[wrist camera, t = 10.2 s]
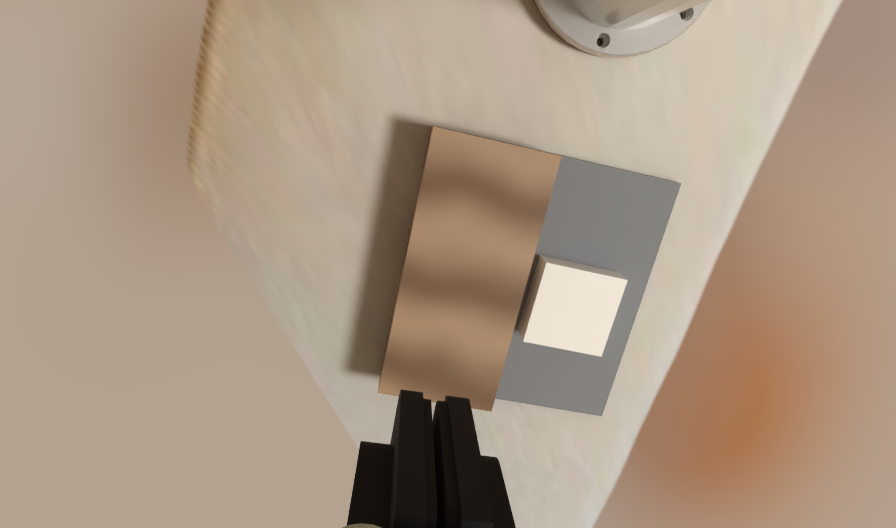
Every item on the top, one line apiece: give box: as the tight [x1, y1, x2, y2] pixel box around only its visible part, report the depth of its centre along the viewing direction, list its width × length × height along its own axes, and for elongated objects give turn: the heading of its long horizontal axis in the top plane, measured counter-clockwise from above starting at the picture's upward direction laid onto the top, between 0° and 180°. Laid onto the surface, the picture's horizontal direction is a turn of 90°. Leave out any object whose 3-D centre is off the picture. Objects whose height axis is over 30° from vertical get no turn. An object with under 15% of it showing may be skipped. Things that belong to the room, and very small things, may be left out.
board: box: [378, 126, 562, 411], centre depth 36 cm, size 19×8×2 cm, turn 168°
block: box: [518, 255, 628, 357], centre depth 37 cm, size 6×6×2 cm
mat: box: [495, 155, 681, 416], centre depth 38 cm, size 19×9×1 cm, turn 168°
